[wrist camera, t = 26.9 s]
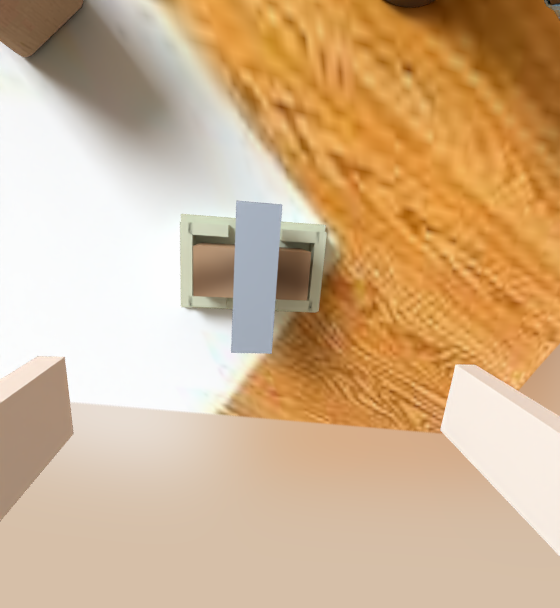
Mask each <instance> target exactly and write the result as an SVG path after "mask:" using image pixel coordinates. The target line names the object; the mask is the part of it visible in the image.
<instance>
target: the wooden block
mask: <svg viewBox="0 0 560 608" xmlns="http://www.w3.org/2000/svg"><path fill="white" fill-rule="evenodd" d="M82 4H83V0H0V41H1V42H2V43H3V44H5V45H6V46H7V47H9V48H10V49H11V50H13V51H14V52H15V53H17V54H19V55H21V56H22V57H29V56H32V55H33V54H34V53H35V52H36V51H37V50H38V49H39V48H40V47H41V46H42V45H43V44H44V43H45V42H46V41H47V40H48V39H49V38H50V37H51V36H52V35H53V34H54V33H55V32H56V31H57V30H58V29H59V28H60V27H61V26H62V25H63V24H64V23H66V22H67V21H68V20H69V19H70V18H71V17H72V16H73V15H74V14H75V13H76V12H77V11H78V10H79V9H80V8H81V7H82Z"/></svg>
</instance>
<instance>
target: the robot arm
mask: <svg viewBox="0 0 560 608" xmlns="http://www.w3.org/2000/svg"><path fill="white" fill-rule="evenodd" d="M386 1H388V2H390V3H392V4H394V5H397V6H401V7H420V6H424V5H427V4H429V3H431V2H433V1H435V0H386ZM544 2H545V4H546V6H547V7H549V8H550V9H552V10H554V12H555V13H556V15H557V17H558V18H559V20H560V0H544ZM440 430H441V431H442V432H443V434H444V435H445V436H446V437H447V438H448V439H449V440H450V441H451V442H452V443H453V444H454V445H455V446H456V447H457V448H458V449H459V450H460V451H461V452H462V454H463V455H464V456H465V457H466V458H467V459H468V460H469V461H470V462H471V463H472V464H473V465H474V466H475V467H476V468H477V469H478V470H479V472H480V473H481V474H482V475H483V476H484V477H485V478H486V479H487V480H488V481H489V482H490V483H491V484H492V485H493V486H494V487H495V488H496V489H497V491H498V492H499V493H500V494H501V495H502V496H503V497H504V498H505V499H506V500H507V501H508V502H509V503H510V504H511V505H512V506H513V507H514V509H515V510H516V511H517V512H518V513H519V514H520V515H521V516H522V517H523V518H524V519H525V520H526V521H527V522H528V523H529V524H530V525H531V526H532V527H533V529H534V530H535V531H536V532H537V533H538V534H539V535H540V536H541V537H542V538H543V539H544V540H545V541H546V542H547V543H548V544H549V545H550V546H551V548H552V549H553V550H554V551H555V552H556V553H557V554H558V555H559V556H560V416H558V415H556V414H555V413H553V412H552V411H550V410H548V409H547V408H545V407H543V406H542V405H540V404H539V403H537V402H535V401H534V400H532V399H530V398H529V397H527V396H525V395H524V394H522V393H520V392H519V391H517V390H516V389H514V388H512V387H511V386H509V385H507V384H506V383H504V382H502V381H501V380H499V379H497V378H496V377H494V376H493V375H491V374H489V373H488V372H486V371H484V370H483V369H481V368H479V367H478V366H476V365H456V366H455V370H454V374H453V379H452V383H451V387H450V391H449V396H448V400H447V404H446V408H445V412H444V417H443V421H442V425H441V429H440ZM72 435H73V425H72V417H71V408H70V399H69V391H68V382H67V373H66V365H65V357H44V356H37V357H36V358H34V359H33V360H31V361H29V362H28V363H26V364H24V365H23V366H21V367H20V368H18V369H16V370H15V371H13V372H12V373H10V374H8V375H7V376H5V377H4V378H2V379H0V521H1V520H2V519H3V517H4V516H5V515H6V514H7V513H8V511H9V510H10V509H11V507H13V505H14V504H15V503H16V502H17V501H18V499H19V498H20V497H21V496H22V495H23V493H24V492H25V491H26V490H27V489H28V488H29V486H30V485H31V484H32V483H33V482H34V480H35V479H36V478H37V477H38V476H39V474H40V473H41V472H42V471H43V470H44V468H45V467H46V466H47V465H48V464H49V462H50V461H51V460H52V459H53V458H54V456H55V455H56V454H57V453H58V452H59V450H60V449H61V448H62V447H63V446H64V444H65V443H66V442H67V441H68V440H69V438H70V437H71V436H72Z"/></svg>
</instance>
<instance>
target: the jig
mask: <svg viewBox="0 0 560 608" xmlns="http://www.w3.org/2000/svg"><path fill="white" fill-rule="evenodd" d="M325 227H326V225H319V224H306V223H293V222H281V229H280V243H279V247H286V248H301V249H304V250H306V251H309V252H311V262H310V274H309V285H308V296H307V300H280V299H275V311H290V312H315V313H316V312H318V311H319V302H320V293H321V284H322V274H323V265H324V256H325V246H326V237H327V232H325ZM235 231H236V218H228V217H215V216H202V215H189V214H181V222H180V266H181V306H182V307H190V308H215V309H233V298H226V297H200V296H193V246H194V245H197V244H199V243H217V244H234V245H235Z"/></svg>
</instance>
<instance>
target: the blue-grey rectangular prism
mask: <svg viewBox="0 0 560 608" xmlns="http://www.w3.org/2000/svg"><path fill="white" fill-rule="evenodd" d="M281 215H282V205H281V204H270V203H258V202H246V201H237V202H236V231H235V259H234V288H233V317H232V345H231V353H270V354H272V342H273V328H274V313H275V299H276V285H277V271H278V257H279V243H280V229H281Z"/></svg>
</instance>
